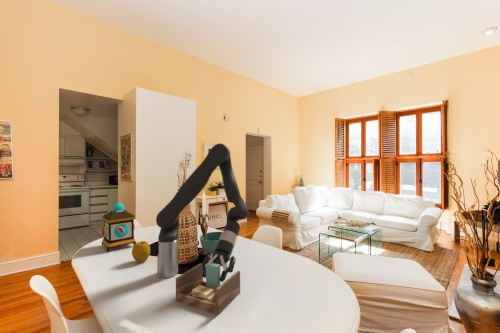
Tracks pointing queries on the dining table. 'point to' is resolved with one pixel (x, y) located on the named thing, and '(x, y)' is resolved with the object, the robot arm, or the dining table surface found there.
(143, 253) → the apple
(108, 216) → the decorative lantern
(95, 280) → the dining table surface
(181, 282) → the walnut rack
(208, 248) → the plant pot
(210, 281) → the teal board
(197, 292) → the offcut stack
